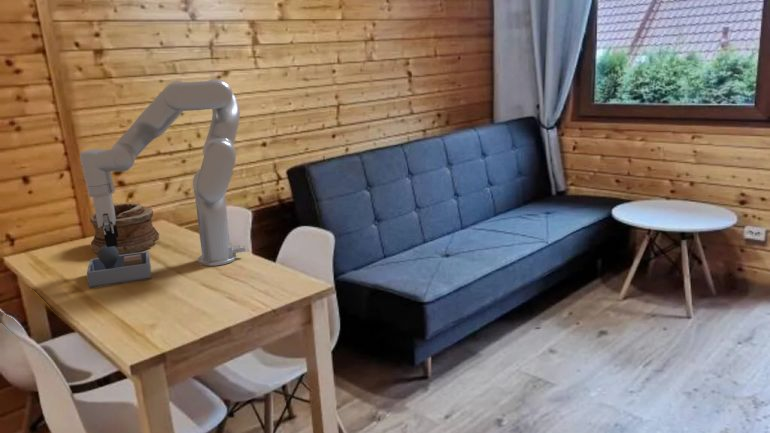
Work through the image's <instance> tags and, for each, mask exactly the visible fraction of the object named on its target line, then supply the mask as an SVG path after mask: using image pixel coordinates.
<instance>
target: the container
mask: <svg viewBox="0 0 770 433" xmlns="http://www.w3.org/2000/svg"><path fill="white" fill-rule="evenodd" d="M113 204H114V203H113ZM114 209H115V216H116V222H115V225H116V227H117V231H118V237H116V238H117V243H118V245H117V246H114V247H116V248H117V250H118V251H119V255H125V254H132V253H139V252H144V251H146V250H147V249H151V248H152V247H153V246H154V242H156V241H158V240H159V239H160V233H159V232H158V230H157V229H156V228H155V227H154V226H153V221H152V219H153V216H154V209H152V208H151V207H148V206H145V205H144V206H143V205H141V204H140V203H133V202H126V203H115V204H114ZM89 218H90V219H89V220H90V221H89V222H90V223H91V225H92V226H93V229H94V236H93V240H91V242H90V245H91V249H92V251H93V253H95V254H97V255H98V252H99V250H100V249H101V248H102V247H103V246H106V242H105V237H104V229H103V226H102V227H101V228H99V227H98V223H97V218H96V213H95V212H94V213H92V215H90V217H89Z"/></svg>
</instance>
